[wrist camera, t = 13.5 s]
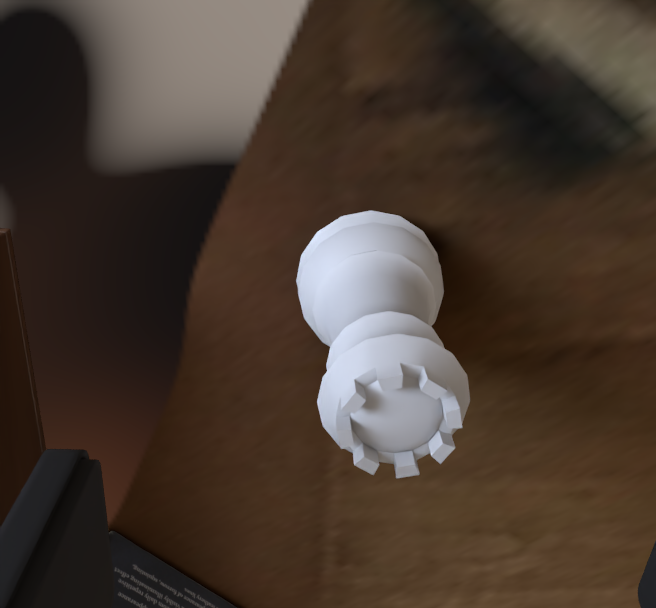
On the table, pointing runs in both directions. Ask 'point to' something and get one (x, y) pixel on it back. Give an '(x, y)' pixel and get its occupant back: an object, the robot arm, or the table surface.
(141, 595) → the box
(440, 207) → the table surface
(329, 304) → the rook chess piece
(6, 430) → the tray
